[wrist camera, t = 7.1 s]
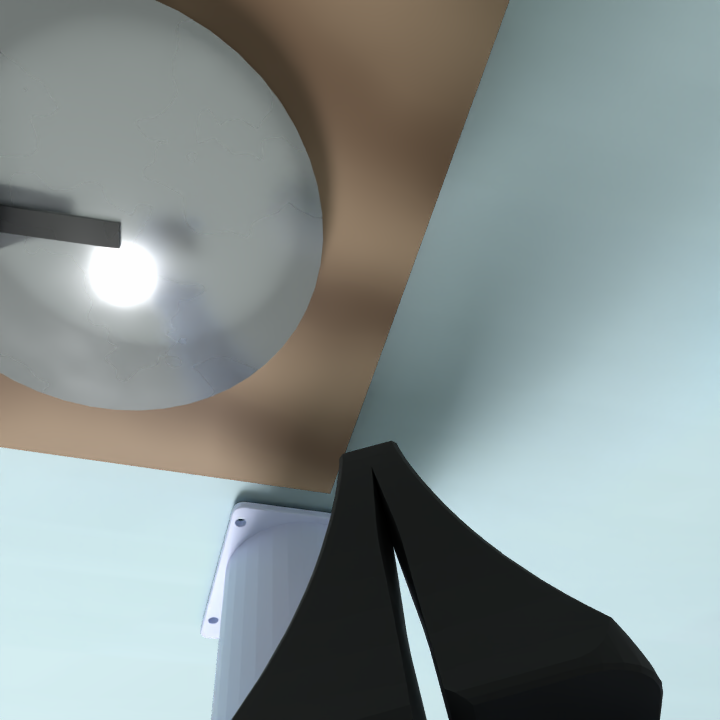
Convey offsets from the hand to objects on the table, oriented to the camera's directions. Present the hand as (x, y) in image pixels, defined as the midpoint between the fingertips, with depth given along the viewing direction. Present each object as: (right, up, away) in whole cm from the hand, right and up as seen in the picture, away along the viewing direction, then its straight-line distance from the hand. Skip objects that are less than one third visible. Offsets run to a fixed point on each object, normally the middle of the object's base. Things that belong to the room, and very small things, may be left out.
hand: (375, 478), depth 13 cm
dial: (-8, +7, +5) cm, 12 cm away
